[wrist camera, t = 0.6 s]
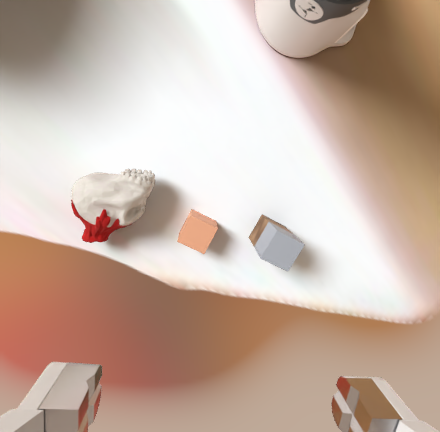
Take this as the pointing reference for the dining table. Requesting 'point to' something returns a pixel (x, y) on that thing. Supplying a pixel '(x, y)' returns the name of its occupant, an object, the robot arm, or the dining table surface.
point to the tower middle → (278, 246)
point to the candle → (110, 201)
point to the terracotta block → (197, 231)
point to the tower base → (262, 228)
